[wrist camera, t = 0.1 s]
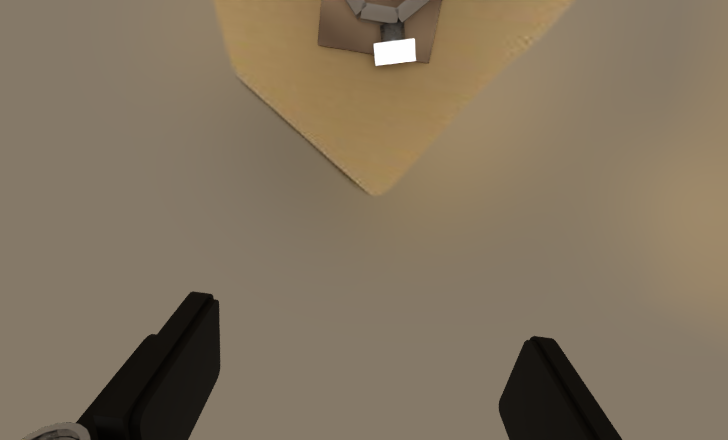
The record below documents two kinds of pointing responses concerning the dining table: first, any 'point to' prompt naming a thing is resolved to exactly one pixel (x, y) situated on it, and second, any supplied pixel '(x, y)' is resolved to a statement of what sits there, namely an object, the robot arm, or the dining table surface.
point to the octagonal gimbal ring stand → (377, 23)
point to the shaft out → (393, 45)
